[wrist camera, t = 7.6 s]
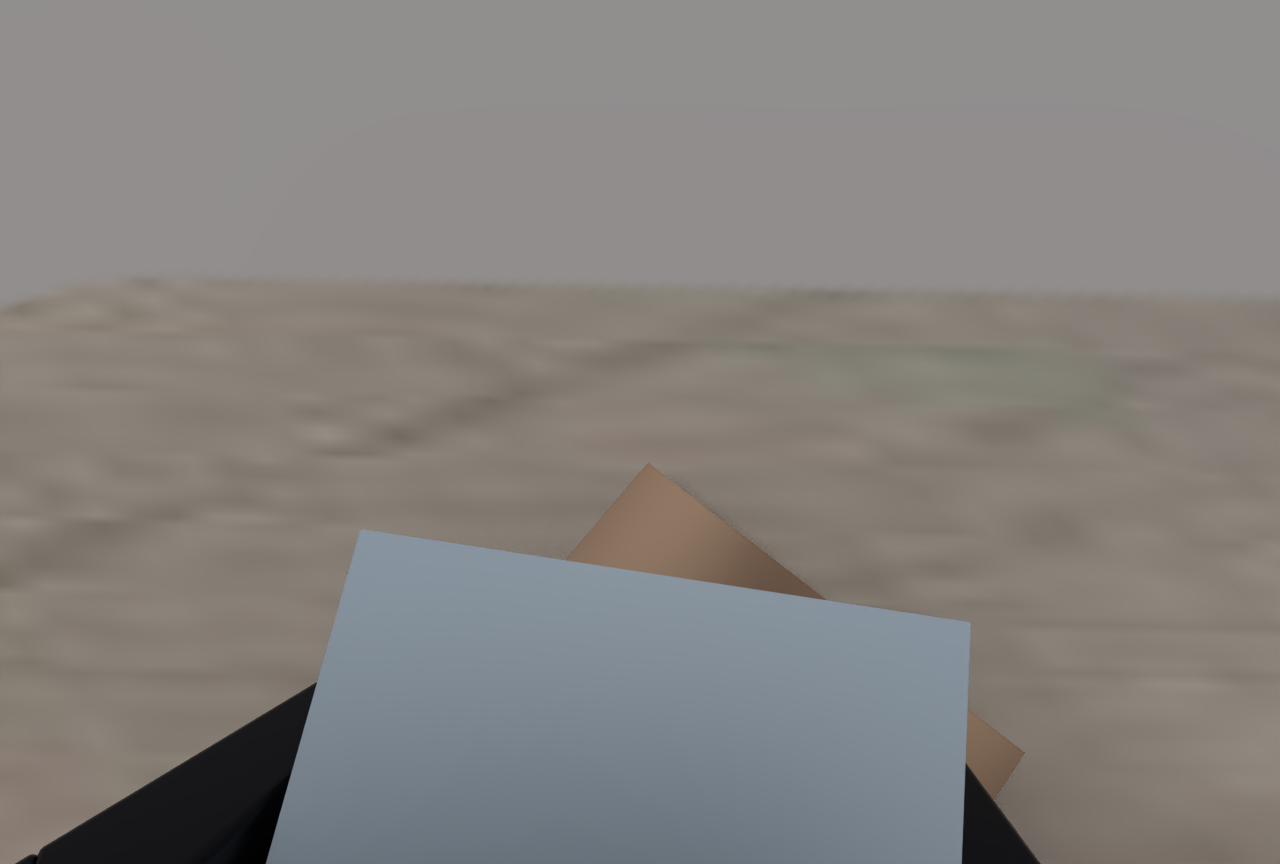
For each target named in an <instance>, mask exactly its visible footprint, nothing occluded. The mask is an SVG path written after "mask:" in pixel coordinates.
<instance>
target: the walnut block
mask: <svg viewBox="0 0 1280 864" xmlns="http://www.w3.org/2000/svg"><path fill="white" fill-rule="evenodd" d="M566 561H573V562H579V563H586V564H593V565H599V566H606V567H612V568H619V569H625V570H632V571H638V572H645V573H651V574H658V575H664V576H671V577H677V578H684V579H691V580H697V581H704V582H710V583H717V584H723V585H730V586H736V587H743V588H749V589H756V590H762V591H769V592H775V593H782V594H789V595H795V596H802V597H808V598H815V599H821V600H826V599H824V598H823V597H822V596H821V595H819V594H818V593H817V592H815V591H814V590H813V589H811V588H810V587H809V586H808V585H806V584H805V583H804V582H802V581H801V580H800V579H798V578H797V577H796V576H795V575H793V574H792V573H791V572H789V571H788V570H787V569H785V568H784V567H783V566H782V565H780V564H779V563H778V562H776V561H775V560H774V559H772V558H771V557H770V556H769V555H767V554H766V553H765V552H763V551H762V550H761V549H759V548H758V547H757V546H756V545H754V544H753V543H752V542H750V541H749V540H748V539H747V538H745V537H744V536H743V535H741V534H740V533H739V532H737V531H736V530H735V529H734V528H732V527H731V526H730V525H728V524H727V523H726V522H724V521H723V520H722V519H721V518H719V517H718V516H717V515H715V514H714V513H713V512H711V511H710V510H709V509H708V508H706V507H705V506H704V505H702V504H701V503H700V502H698V501H697V500H696V499H695V498H693V497H692V496H691V495H689V494H688V493H687V492H685V491H684V490H683V489H682V488H680V487H679V486H678V485H676V484H675V483H674V482H672V481H671V480H670V479H669V478H667V477H666V476H665V475H663V474H662V473H661V472H659V471H658V470H657V469H656V468H654V467H653V466H652V465H650V464H649V463H648V464H647V465H646V466H645V467H644V468H643V469H642V471H641V472H640V473H639V474H638V475H637V477H636V478H635V479H634V480H633V481H632V482H631V484H630V485H629V486H628V487H627V488H626V490H625V491H624V492H623V493H622V494H621V495H620V497H619V498H618V499H617V500H616V501H615V503H614V504H613V505H612V506H611V507H610V508H609V510H608V511H607V512H606V513H605V514H604V516H603V517H602V518H601V519H600V520H599V521H598V523H597V524H596V525H595V526H594V527H593V529H592V530H591V531H590V532H589V533H588V534H587V536H586V537H585V538H584V539H583V540H582V542H581V543H580V544H579V545H578V546H577V547H576V549H575V550H574V551H573V552H572V553H571V555H570V556H569V557H568V558H567V559H566ZM1023 755H1024V752H1023V751H1022V750H1021V749H1019V748H1018V747H1017V746H1015V745H1014V744H1013V743H1011V742H1010V741H1009V740H1008V739H1006V738H1005V737H1004V736H1002V735H1001V734H1000V733H998V732H997V731H996V730H995V729H993V728H992V727H991V726H989V725H988V724H987V723H985V722H984V721H983V720H982V719H980V718H979V717H978V716H976V715H975V714H974V713H972V712H971V711H970V710H969V709H968V710H967V737H966V763H967V765H968V766H969V767H970V769H971V770H972V772H973V773H974V774H975V776H976V777H977V778H978V780H979V781H980V782H981V784H982V785H983V786H984V788H985V789H986V791H987V792H988V793H989V795H990V796H991V797H992V799H993V800H994V799H995V797H996V796H997V794H998V793H999V791H1000V790H1001V788H1002V787H1003V785H1004V784H1005V782H1006V781H1007V779H1008V778H1009V776H1010V774H1011V773H1012V771H1013V770H1014V768H1015V767H1016V765H1017V764H1018V762H1019V761H1020V759H1021V758H1022V756H1023Z"/></svg>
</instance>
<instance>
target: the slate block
mask: <svg viewBox="0 0 1280 864" xmlns="http://www.w3.org/2000/svg"><path fill="white" fill-rule="evenodd" d="M970 631H971V622H965V621H958V620H952V619H945V618H939V617H932V616H926V615H919V614H913V613H906V612H900V611H893V610H887V609H880V608H874V607H867V606H860V605H854V604H847V603H841V602H834V601H828V600H821V599H815V598H808V597H802V596H795V595H789V594H782V593H775V592H769V591H762V590H756V589H749V588H743V587H736V586H730V585H723V584H717V583H710V582H704V581H697V580H691V579H684V578H677V577H671V576H664V575H658V574H651V573H645V572H638V571H632V570H625V569H619V568H612V567H606V566H599V565H593V564H586V563H579V562H573V561H566V560H560V559H553V558H547V557H540V556H534V555H527V554H521V553H514V552H508V551H501V550H494V549H488V548H481V547H475V546H468V545H462V544H455V543H449V542H442V541H436V540H429V539H423V538H416V537H410V536H403V535H396V534H390V533H383V532H377V531H370V530H364V529H360V533H359V536H358V540H357V543H356V547H355V550H354V554H353V557H352V561H351V564H350V568H349V572H348V575H347V579H346V582H345V586H344V589H343V593H342V596H341V600H340V603H339V607H338V610H337V614H336V617H335V621H334V625H333V628H332V632H331V635H330V639H329V642H328V646H327V649H326V653H325V656H324V660H323V663H322V667H321V670H320V674H319V678H318V681H317V685H316V688H315V692H314V695H313V699H312V702H311V706H310V709H309V713H308V716H307V720H306V724H305V727H304V731H303V734H302V738H301V741H300V745H299V748H298V752H297V755H296V759H295V762H294V766H293V769H292V773H291V777H290V780H289V784H288V787H287V791H286V794H285V798H284V801H283V805H282V808H281V812H280V815H279V819H278V822H277V826H276V830H275V833H274V837H273V840H272V844H271V847H270V851H269V854H268V858H267V861H266V864H962V842H963V816H964V789H965V763H966V737H967V710H968V684H969V657H970Z"/></svg>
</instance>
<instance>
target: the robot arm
mask: <svg viewBox="0 0 1280 864" xmlns="http://www.w3.org/2000/svg"><path fill="white" fill-rule="evenodd" d="M316 685H317V682H316V683H315V684H313V685H311V686H310V687H308V688H306V689H305V690H303V691H301V692H300V693H298V694H296V695H295V696H293V697H291V698H290V699H288V700H286V701H285V702H283V703H281V704H280V705H278V706H276V707H275V708H273V709H271V710H270V711H268V712H266V713H265V714H263V715H261V716H260V717H258V718H256V719H255V720H253V721H252V722H250V723H248V724H247V725H245V726H243V727H242V728H240V729H238V730H237V731H235V732H233V733H232V734H230V735H228V736H227V737H225V738H223V739H222V740H220V741H218V742H217V743H215V744H213V745H212V746H210V747H208V748H207V749H205V750H203V751H202V752H200V753H198V754H197V755H195V756H193V757H192V758H190V759H189V760H187V761H185V762H184V763H182V764H180V765H179V766H177V767H175V768H174V769H172V770H170V771H169V772H167V773H165V774H164V775H162V776H160V777H159V778H157V779H155V780H154V781H152V782H150V783H149V784H147V785H145V786H144V787H142V788H140V789H139V790H137V791H135V792H134V793H132V794H130V795H129V796H127V797H126V798H124V799H122V800H121V801H119V802H117V803H116V804H114V805H112V806H111V807H109V808H107V809H106V810H104V811H102V812H101V813H99V814H97V815H96V816H94V817H92V818H91V819H89V820H87V821H86V822H84V823H82V824H81V825H79V826H77V827H76V828H74V829H72V830H71V831H69V832H68V833H66V834H64V835H63V836H61V837H59V838H58V839H56V840H54V841H53V842H51V843H49V844H48V845H46V846H44V847H43V848H42V849H41V850H40V852H39V854H38V856H37V855H34V854H32V855H29V856H27V857H26V858H24V859H22V860H21V861H19V862H17V863H16V864H266V861H267V858H268V854H269V851H270V847H271V844H272V840H273V837H274V833H275V830H276V826H277V822H278V819H279V815H280V812H281V808H282V805H283V801H284V798H285V794H286V791H287V787H288V784H289V780H290V777H291V773H292V769H293V766H294V762H295V759H296V755H297V752H298V748H299V745H300V741H301V738H302V734H303V731H304V727H305V724H306V720H307V716H308V713H309V709H310V706H311V702H312V699H313V695H314V692H315V688H316ZM962 864H1040V863H1039V861H1038V860H1037V859H1036V857H1035V856H1034V854H1033V853H1032V852H1031V850H1030V849H1029V848H1028V846H1027V845H1026V844H1025V842H1024V841H1023V840H1022V838H1021V837H1020V835H1019V834H1018V833H1017V831H1016V830H1015V829H1014V827H1013V826H1012V825H1011V823H1010V822H1009V820H1008V819H1007V818H1006V816H1005V815H1004V814H1003V812H1002V811H1001V810H1000V808H999V807H998V806H997V804H996V803H995V801H994V800H993V799H992V797H991V796H990V795H989V793H988V792H987V791H986V789H985V788H984V786H983V785H982V784H981V782H980V781H979V780H978V778H977V777H976V776H975V774H974V773H973V772H972V770H971V769H970V767H969V766H968V765H967V763H965V789H964V816H963V842H962Z"/></svg>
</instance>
